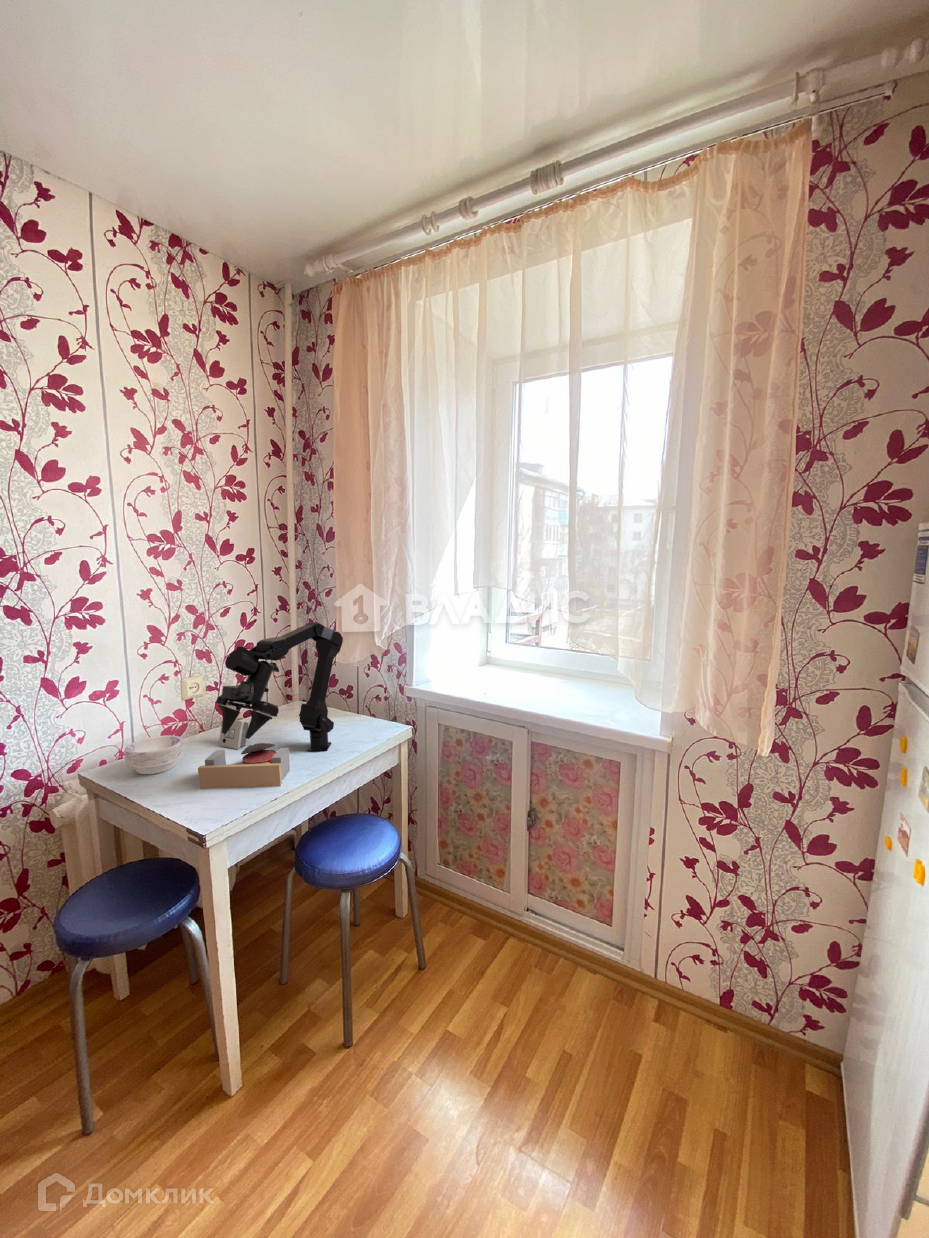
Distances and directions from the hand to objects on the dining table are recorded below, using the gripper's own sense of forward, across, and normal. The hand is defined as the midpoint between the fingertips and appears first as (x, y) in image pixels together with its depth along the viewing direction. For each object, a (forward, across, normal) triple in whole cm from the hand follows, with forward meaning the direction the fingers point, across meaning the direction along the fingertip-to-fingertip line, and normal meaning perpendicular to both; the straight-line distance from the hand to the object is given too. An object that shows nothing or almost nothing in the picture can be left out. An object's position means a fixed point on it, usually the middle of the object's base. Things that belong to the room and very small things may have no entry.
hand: (235, 736), depth 134 cm
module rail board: (+10, -3, +13) cm, 16 cm away
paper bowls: (+14, -35, +7) cm, 38 cm away
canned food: (+6, -7, +20) cm, 22 cm away
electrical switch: (+1, -29, +26) cm, 39 cm away
